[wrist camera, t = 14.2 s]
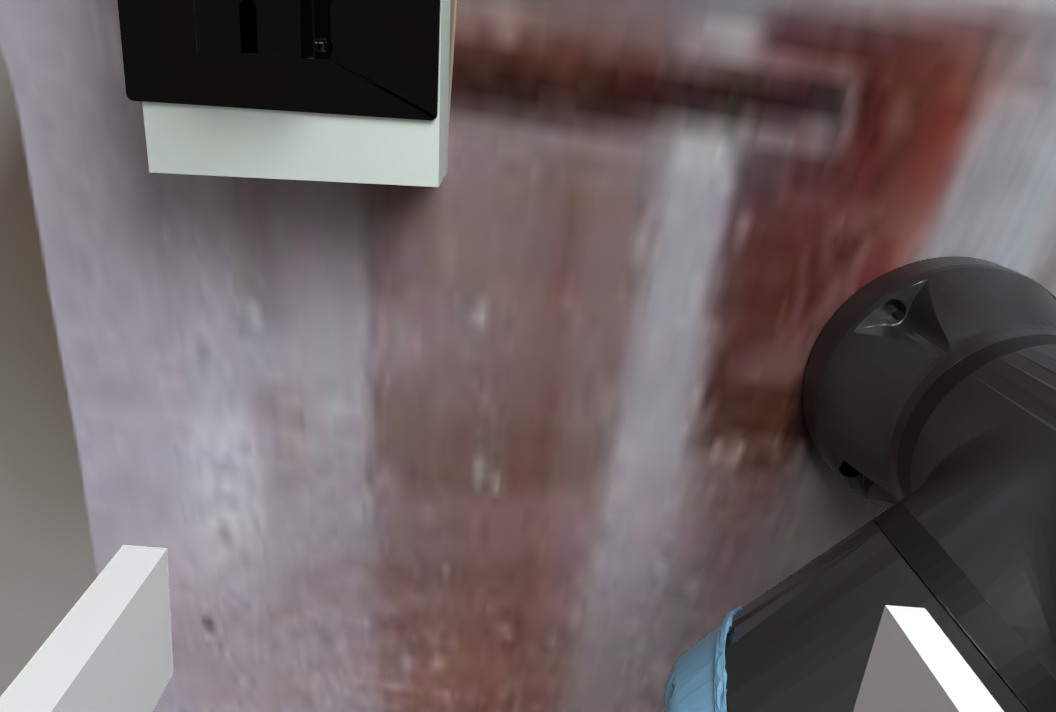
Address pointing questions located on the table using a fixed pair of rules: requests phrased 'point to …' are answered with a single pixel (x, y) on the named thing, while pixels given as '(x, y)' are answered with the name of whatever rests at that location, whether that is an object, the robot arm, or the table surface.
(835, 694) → the robot arm
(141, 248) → the table surface
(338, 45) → the build plate
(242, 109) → the top block
